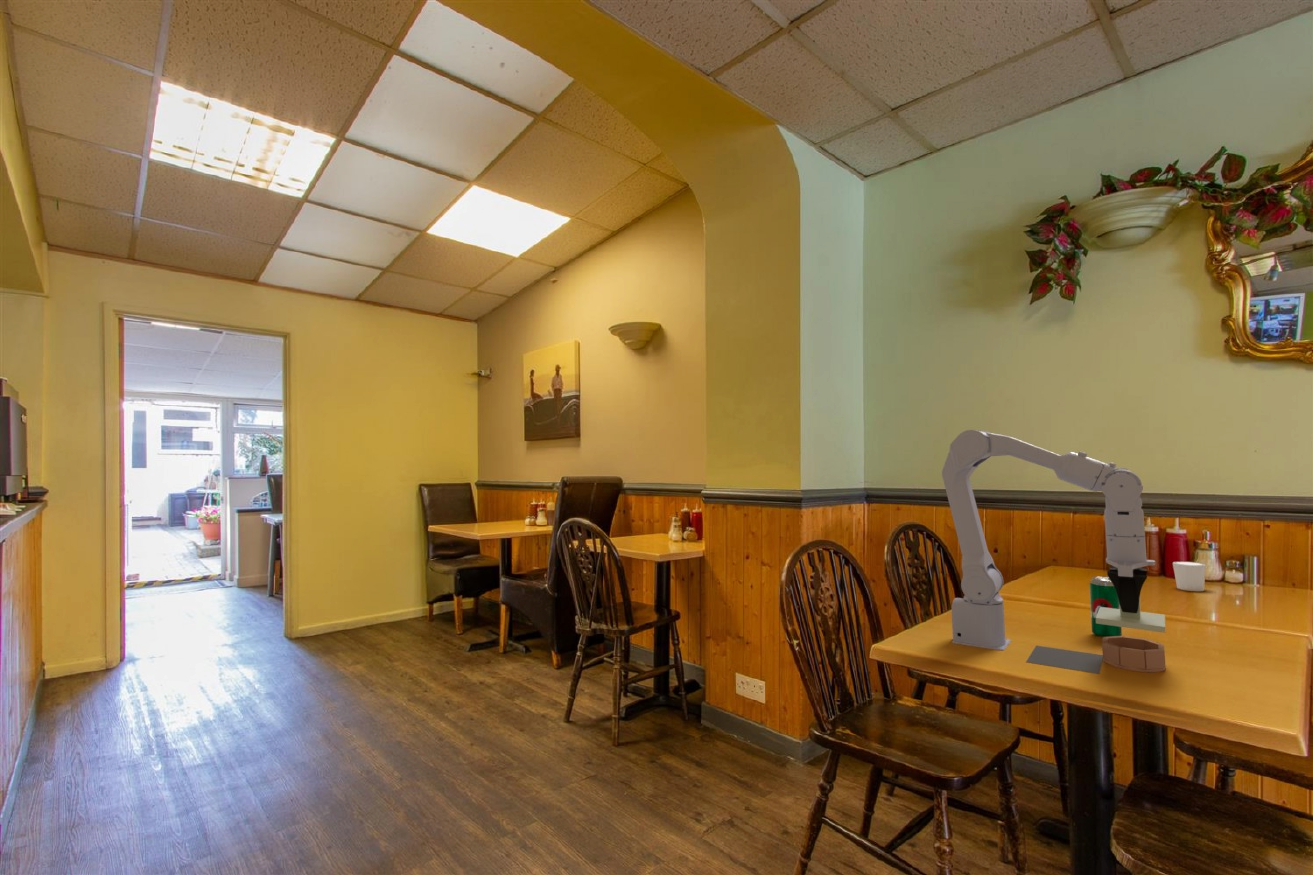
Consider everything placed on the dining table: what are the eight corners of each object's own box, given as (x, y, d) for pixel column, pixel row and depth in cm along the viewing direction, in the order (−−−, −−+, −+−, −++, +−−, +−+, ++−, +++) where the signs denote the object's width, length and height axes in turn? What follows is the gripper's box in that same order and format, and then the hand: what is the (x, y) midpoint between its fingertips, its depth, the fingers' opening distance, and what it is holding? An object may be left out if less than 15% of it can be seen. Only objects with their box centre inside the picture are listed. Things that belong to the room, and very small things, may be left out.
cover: (1095, 623, 109) (1094, 595, 109) (1100, 611, 117) (1099, 585, 117) (1165, 632, 103) (1164, 603, 103) (1165, 620, 110) (1164, 592, 111)
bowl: (1102, 667, 109) (1100, 645, 109) (1105, 654, 116) (1104, 633, 116) (1165, 677, 103) (1164, 654, 103) (1165, 663, 110) (1164, 641, 110)
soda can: (1126, 640, 124) (1124, 581, 124) (1098, 639, 125) (1095, 581, 125) (1114, 633, 129) (1111, 576, 129) (1087, 632, 130) (1084, 576, 130)
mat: (1026, 664, 112) (1025, 661, 112) (1036, 647, 121) (1036, 645, 121) (1099, 676, 105) (1099, 673, 105) (1104, 657, 114) (1104, 655, 114)
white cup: (1185, 591, 163) (1183, 565, 163) (1168, 586, 170) (1166, 561, 170) (1214, 591, 162) (1212, 565, 162) (1195, 586, 169) (1194, 561, 169)
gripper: (1152, 541, 102) (1158, 622, 102) (1153, 531, 113) (1158, 604, 113) (1101, 539, 107) (1106, 616, 106) (1107, 530, 118) (1111, 600, 117)
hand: (1130, 610), depth 110 cm, fingers closed on cover, 3 cm apart
